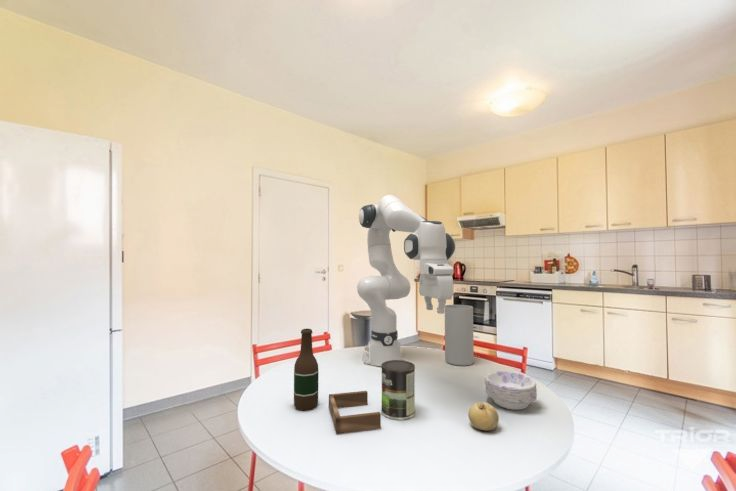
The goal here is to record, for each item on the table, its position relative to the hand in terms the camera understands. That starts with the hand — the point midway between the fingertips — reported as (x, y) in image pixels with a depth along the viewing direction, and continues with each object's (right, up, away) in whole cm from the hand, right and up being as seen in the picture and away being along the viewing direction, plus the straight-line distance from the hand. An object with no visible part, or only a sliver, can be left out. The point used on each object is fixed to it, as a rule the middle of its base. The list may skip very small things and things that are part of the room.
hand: (434, 311), depth 106 cm
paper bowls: (+24, -30, -1) cm, 38 cm away
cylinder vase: (+20, -32, +42) cm, 56 cm away
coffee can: (-13, -29, -7) cm, 33 cm away
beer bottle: (-41, -30, -3) cm, 51 cm away
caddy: (-26, -29, -10) cm, 40 cm away
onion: (+10, -29, -16) cm, 35 cm away
